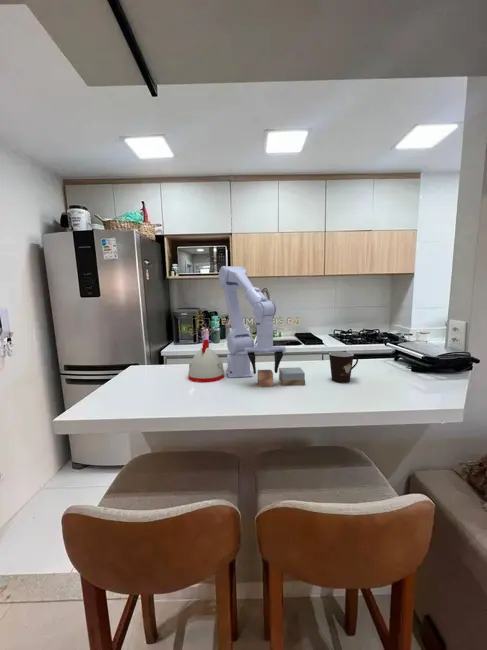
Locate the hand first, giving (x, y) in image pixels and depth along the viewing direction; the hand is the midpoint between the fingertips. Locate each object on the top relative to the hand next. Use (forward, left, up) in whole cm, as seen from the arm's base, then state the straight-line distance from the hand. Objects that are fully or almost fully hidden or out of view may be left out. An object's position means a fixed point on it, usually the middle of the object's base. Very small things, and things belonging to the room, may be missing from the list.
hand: (265, 372), depth 110 cm
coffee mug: (+30, +2, -5) cm, 30 cm away
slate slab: (+10, +2, -3) cm, 10 cm away
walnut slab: (+10, +2, -5) cm, 11 cm away
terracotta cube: (0, 0, -5) cm, 5 cm away
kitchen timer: (-22, +12, -5) cm, 26 cm away
